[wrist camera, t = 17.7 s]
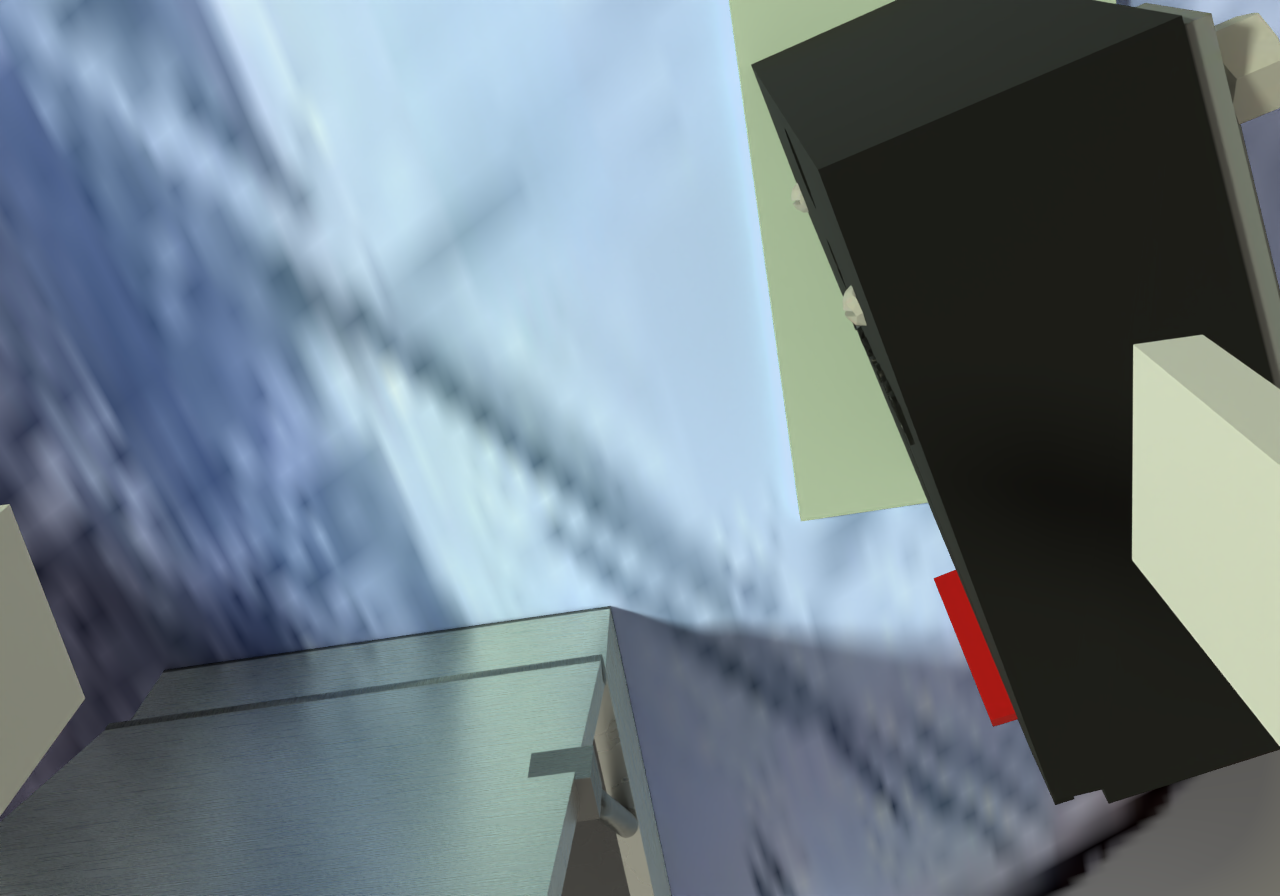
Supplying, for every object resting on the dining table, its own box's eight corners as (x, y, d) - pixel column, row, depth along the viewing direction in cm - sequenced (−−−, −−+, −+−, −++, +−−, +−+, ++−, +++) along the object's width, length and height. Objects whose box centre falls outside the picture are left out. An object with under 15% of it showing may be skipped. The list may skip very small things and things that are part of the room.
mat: (799, 514, 50) (801, 521, 50) (725, -24, 42) (726, -23, 42) (1120, 467, 49) (1126, 473, 49) (1107, -95, 41) (1114, -95, 41)
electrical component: (1145, 396, 47) (1451, 695, 29) (895, 489, 49) (1034, 827, 31) (1013, -53, 41) (1298, -35, 23) (732, 72, 43) (786, 183, 24)
